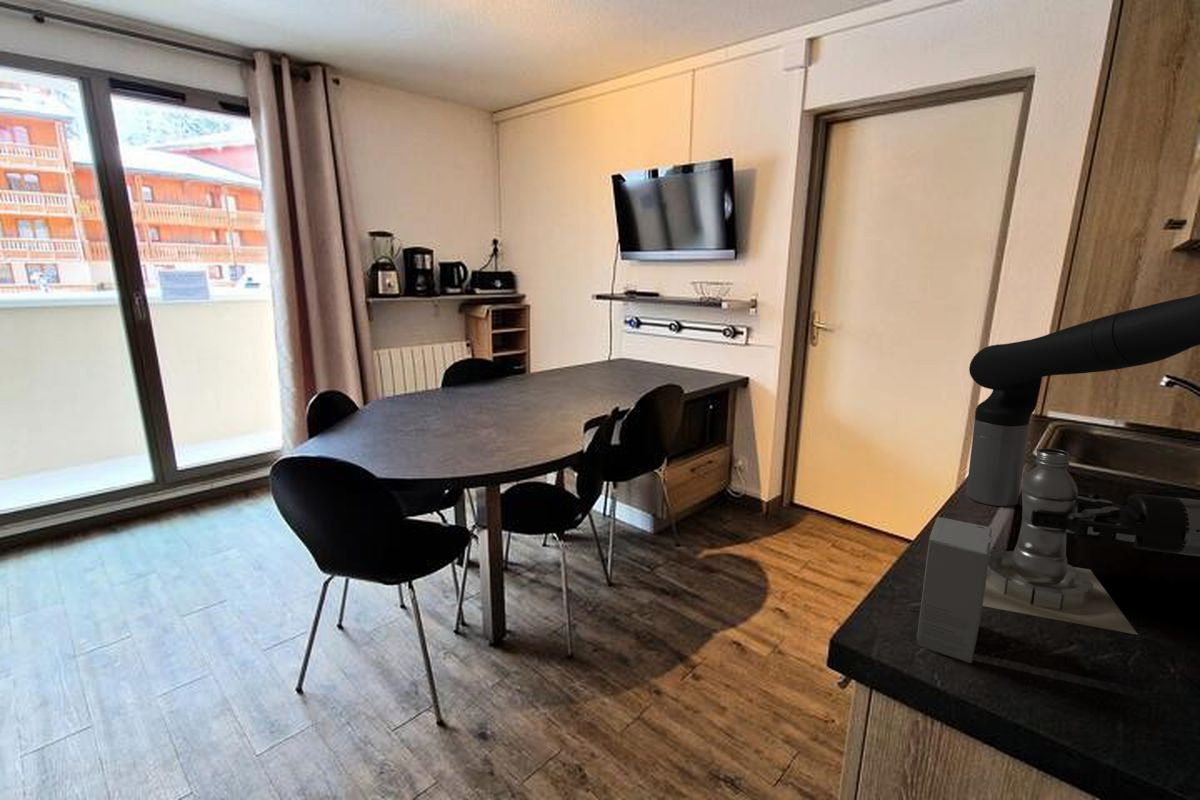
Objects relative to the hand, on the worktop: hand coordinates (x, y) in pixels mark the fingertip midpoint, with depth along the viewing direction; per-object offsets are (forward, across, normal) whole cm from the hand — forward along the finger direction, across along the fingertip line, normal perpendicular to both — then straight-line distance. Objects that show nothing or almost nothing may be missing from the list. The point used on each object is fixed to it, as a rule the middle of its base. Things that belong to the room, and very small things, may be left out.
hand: (1026, 508), depth 82 cm
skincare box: (+11, +18, +13) cm, 25 cm away
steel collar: (-2, 0, +12) cm, 12 cm away
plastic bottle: (-2, 0, +11) cm, 11 cm away
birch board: (-2, 0, +13) cm, 13 cm away
